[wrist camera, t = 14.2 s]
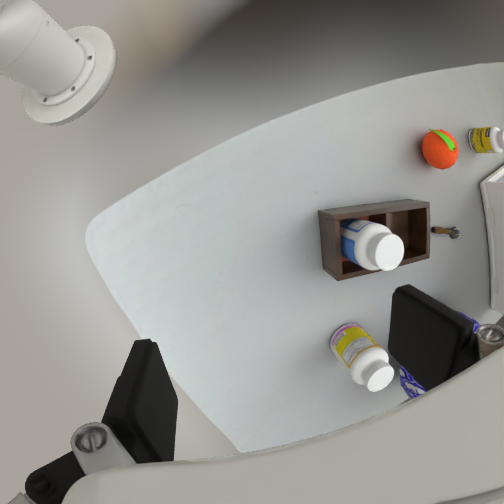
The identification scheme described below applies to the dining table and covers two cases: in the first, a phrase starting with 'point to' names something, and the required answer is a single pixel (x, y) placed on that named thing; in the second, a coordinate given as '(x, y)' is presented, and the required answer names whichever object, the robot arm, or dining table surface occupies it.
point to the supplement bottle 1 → (362, 357)
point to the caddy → (385, 213)
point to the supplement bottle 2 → (486, 140)
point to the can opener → (446, 231)
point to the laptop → (495, 233)
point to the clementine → (440, 149)
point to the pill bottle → (370, 244)
